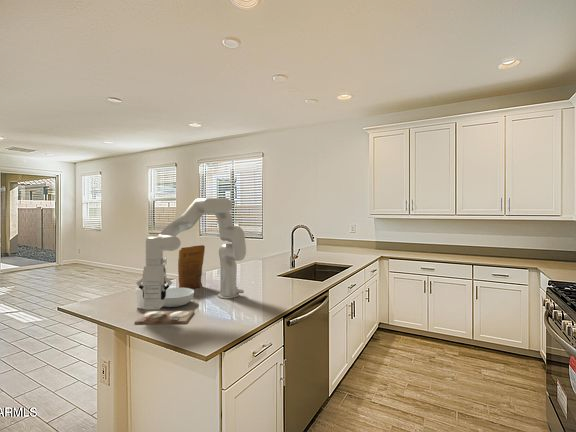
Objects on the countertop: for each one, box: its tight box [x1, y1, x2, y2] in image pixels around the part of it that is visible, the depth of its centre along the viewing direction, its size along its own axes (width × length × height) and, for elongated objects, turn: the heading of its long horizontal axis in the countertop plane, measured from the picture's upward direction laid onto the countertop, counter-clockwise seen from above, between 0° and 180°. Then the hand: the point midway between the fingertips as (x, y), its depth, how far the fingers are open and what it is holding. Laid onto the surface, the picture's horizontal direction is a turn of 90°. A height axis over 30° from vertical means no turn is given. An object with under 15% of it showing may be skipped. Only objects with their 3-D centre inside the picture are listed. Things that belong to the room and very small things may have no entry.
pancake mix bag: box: [177, 244, 206, 290], centre depth 198 cm, size 7×19×28 cm, turn 133°
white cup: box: [135, 286, 144, 309], centre depth 161 cm, size 8×8×10 cm
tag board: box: [134, 310, 195, 325], centre depth 144 cm, size 23×14×2 cm, turn 93°
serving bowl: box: [162, 287, 195, 308], centre depth 165 cm, size 21×21×7 cm
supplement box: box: [143, 282, 164, 310], centre depth 145 cm, size 7×7×13 cm
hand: (154, 298), depth 145 cm, fingers closed on supplement box, 7 cm apart
